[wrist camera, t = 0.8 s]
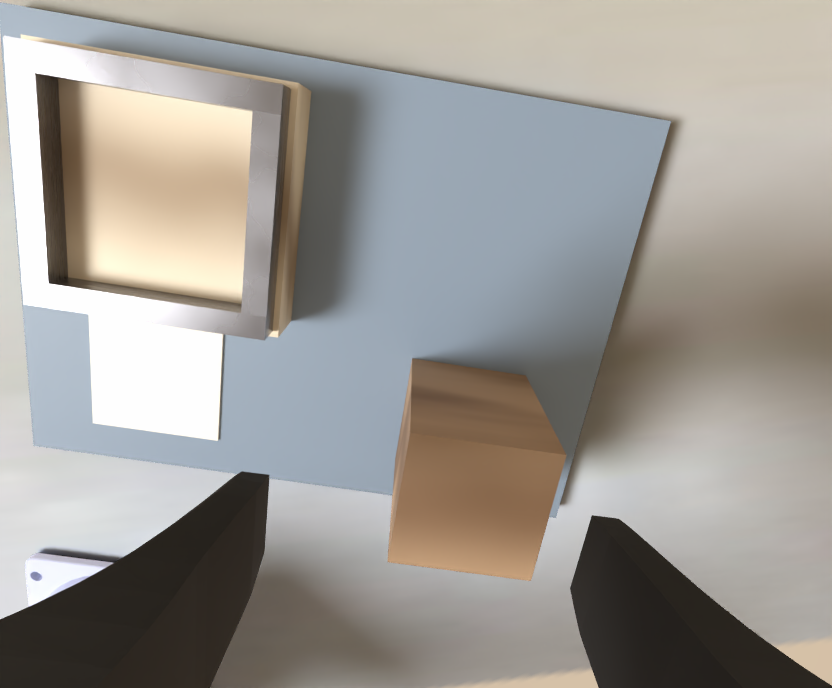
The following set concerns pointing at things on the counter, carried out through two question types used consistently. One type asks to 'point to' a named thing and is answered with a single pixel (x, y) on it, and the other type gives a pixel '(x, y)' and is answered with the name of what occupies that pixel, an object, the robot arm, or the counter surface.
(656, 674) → the robot arm
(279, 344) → the board
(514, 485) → the walnut block
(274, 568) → the counter surface
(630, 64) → the counter surface
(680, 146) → the counter surface
